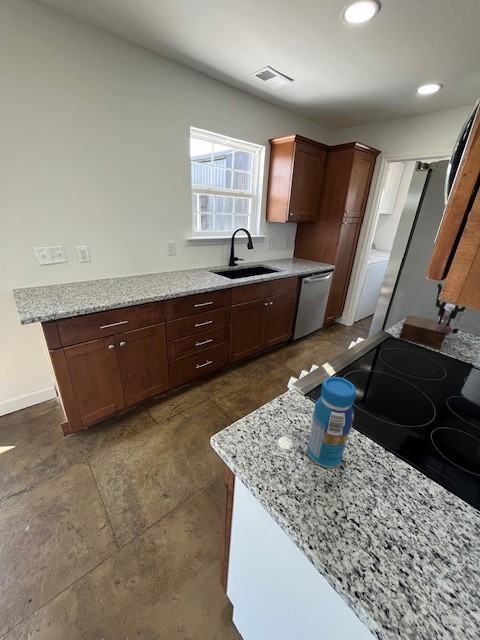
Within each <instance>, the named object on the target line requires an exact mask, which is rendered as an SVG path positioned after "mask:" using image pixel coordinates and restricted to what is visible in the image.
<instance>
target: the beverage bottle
mask: <svg viewBox="0 0 480 640" xmlns="http://www.w3.org/2000/svg"><path fill="white" fill-rule="evenodd" d="M356 396H357V388H356V386H355V385H354V384H353V383H352V382H351V381H349V380H347V379H346V378H344V377H339V376H330V377H326V378H325V379H324V380H323V382H322V385H321V389H320V397H319V398H318V399H317V400H316V401H315V405H314V410H313V412H312V415H311V416H312V417H311V420H312V422H311V428H310V433H309V439H308V442H307V447H306V451H307V453H308V456H309V458H310V459H311V460H312V461H313V462H315V464H317V465H319V466H321V467H324V468H335V467H338V466H339V465H340V464H341V463H342V462H343V459H344V454H345V448H346V446H347V441H348V437H349V434H350V433H351V432H352V428H353V421H354V418H355V412H354V407H353V405H354V402H355V399H356Z"/></svg>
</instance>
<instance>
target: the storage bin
mask: <svg viewBox="0 0 480 640" xmlns="http://www.w3.org/2000/svg"><path fill="white" fill-rule="evenodd" d="M445 336H446V335H445V334H441V333H436V332H432V331H428V330H423V329H419V328H415V327H410V326H406V325H403V324H402V326H401V329H400V333H399V337H398V339H400V340H403V341H407V342H410V343H414V344H417V345H421V346H424V347H427V348H431V349H435V350H439V351H441V348H442V346H443V343H444V341H445V339H446V338H445Z"/></svg>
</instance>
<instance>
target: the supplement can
mask: <svg viewBox="0 0 480 640" xmlns="http://www.w3.org/2000/svg"><path fill="white" fill-rule="evenodd" d="M450 303H451V302H447V303H446V305H445V307H444V308H445V312H449V313H450V314H451V311H452V310H454V309H455V305H453V304H450ZM459 308H461V307H459ZM466 313H467V307H466V308H465V310H464V311H463V312H458V313H457V315H456V317H455V319H451V321H450V331H449V335H446V336H445V339H447V340H452V339H455V338H457V335H458V332H459V331H460V328H461V327H462V326H461V325H462V323H463V321H464V319H465V317H466V316H465V315H466ZM439 319H440V317H439ZM439 319H438V320H437V321H438V322H439ZM443 321H444V320H443V318H442V321H441V322H443ZM447 322H448V320H447V321H446V323H447Z"/></svg>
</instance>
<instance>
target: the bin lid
mask: <svg viewBox="0 0 480 640" xmlns="http://www.w3.org/2000/svg"><path fill="white" fill-rule="evenodd" d="M449 318H450V313H449V312H444V315H443V320H444V321H443V322H441V323H440V324H438V321H439V320H432V319H428V318H423V317H419V316H415V315H409V314H408V315H407V316H406V318H405V320H404V321H403V323H402V326H403V325H406V326H410V327H415V328H419V329H423V330H428V331H432V332H436V333H441V334H445V335H449V331H450V324H449V326H446V325H447V323H446V321H447V320H449Z"/></svg>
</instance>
